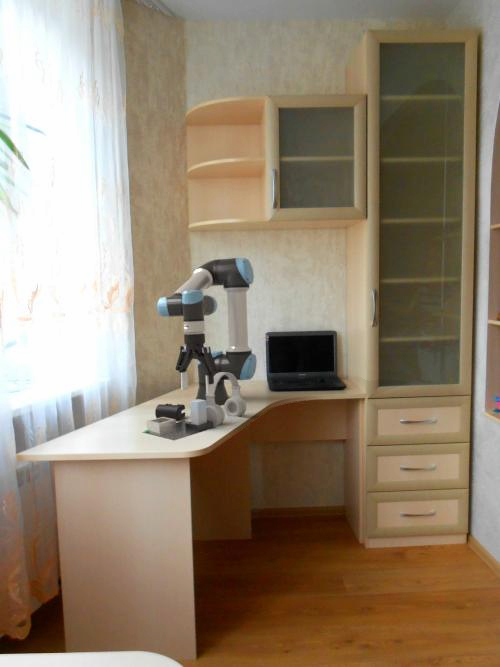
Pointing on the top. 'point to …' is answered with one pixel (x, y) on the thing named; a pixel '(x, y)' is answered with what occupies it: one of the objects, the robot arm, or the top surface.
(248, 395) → the top surface
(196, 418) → the plug
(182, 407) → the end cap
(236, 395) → the headphones
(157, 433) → the panel
